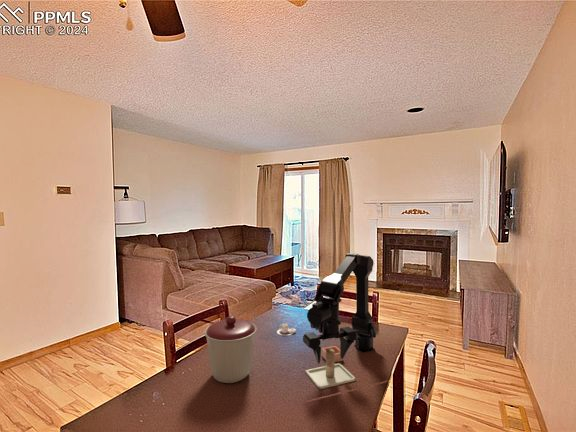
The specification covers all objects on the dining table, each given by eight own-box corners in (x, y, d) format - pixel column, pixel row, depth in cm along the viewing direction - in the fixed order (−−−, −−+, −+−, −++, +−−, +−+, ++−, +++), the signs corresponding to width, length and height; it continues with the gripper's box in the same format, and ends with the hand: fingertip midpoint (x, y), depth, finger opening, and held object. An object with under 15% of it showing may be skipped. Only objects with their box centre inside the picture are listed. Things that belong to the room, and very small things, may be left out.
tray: (339, 366, 117) (339, 363, 117) (356, 381, 107) (356, 378, 106) (305, 373, 112) (305, 370, 112) (319, 390, 101) (319, 387, 101)
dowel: (331, 373, 111) (331, 348, 111) (335, 377, 108) (336, 352, 108) (324, 374, 110) (324, 349, 110) (328, 379, 107) (328, 353, 107)
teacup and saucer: (298, 332, 148) (298, 323, 148) (289, 338, 142) (289, 329, 141) (282, 328, 153) (282, 320, 153) (273, 334, 146) (273, 325, 146)
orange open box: (335, 354, 126) (335, 345, 126) (343, 361, 120) (343, 352, 120) (321, 357, 124) (321, 348, 124) (329, 364, 118) (329, 355, 118)
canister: (264, 366, 116) (264, 311, 115) (242, 395, 99) (241, 329, 98) (222, 358, 122) (221, 305, 121) (194, 384, 105) (193, 322, 104)
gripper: (341, 306, 119) (341, 346, 120) (296, 312, 112) (296, 354, 113) (358, 316, 109) (358, 360, 109) (309, 323, 102) (309, 370, 103)
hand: (330, 360), depth 109 cm, fingers open, 9 cm apart
